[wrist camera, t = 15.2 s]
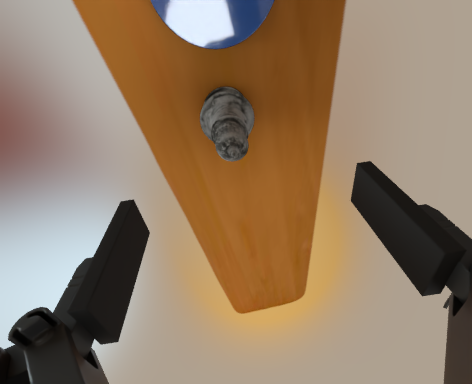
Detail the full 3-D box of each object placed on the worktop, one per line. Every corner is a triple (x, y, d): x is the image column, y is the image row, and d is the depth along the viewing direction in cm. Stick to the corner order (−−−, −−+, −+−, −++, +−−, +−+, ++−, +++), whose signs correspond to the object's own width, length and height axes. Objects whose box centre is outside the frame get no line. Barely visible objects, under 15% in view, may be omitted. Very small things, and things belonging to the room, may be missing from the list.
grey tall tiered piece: (214, 73, 27) (218, 104, 17) (259, 99, 29) (284, 141, 19) (192, 120, 30) (184, 169, 20) (234, 141, 32) (246, 195, 22)
